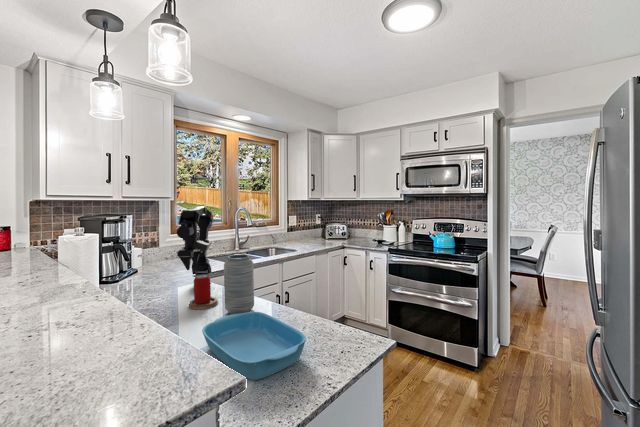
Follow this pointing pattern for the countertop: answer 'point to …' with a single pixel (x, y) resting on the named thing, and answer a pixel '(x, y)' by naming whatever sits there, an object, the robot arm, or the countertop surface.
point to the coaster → (205, 306)
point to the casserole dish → (254, 343)
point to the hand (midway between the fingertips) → (191, 267)
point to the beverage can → (202, 289)
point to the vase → (239, 284)
